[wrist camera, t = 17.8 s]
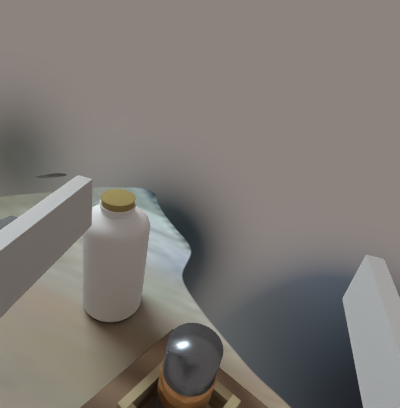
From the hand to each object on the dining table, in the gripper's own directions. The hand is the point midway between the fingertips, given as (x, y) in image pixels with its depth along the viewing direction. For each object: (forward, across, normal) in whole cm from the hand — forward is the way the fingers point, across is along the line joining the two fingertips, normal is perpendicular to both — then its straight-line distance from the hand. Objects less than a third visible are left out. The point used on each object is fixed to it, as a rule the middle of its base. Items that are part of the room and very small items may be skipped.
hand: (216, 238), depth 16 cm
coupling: (+7, 0, -28) cm, 29 cm away
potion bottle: (+20, -14, -30) cm, 39 cm away
